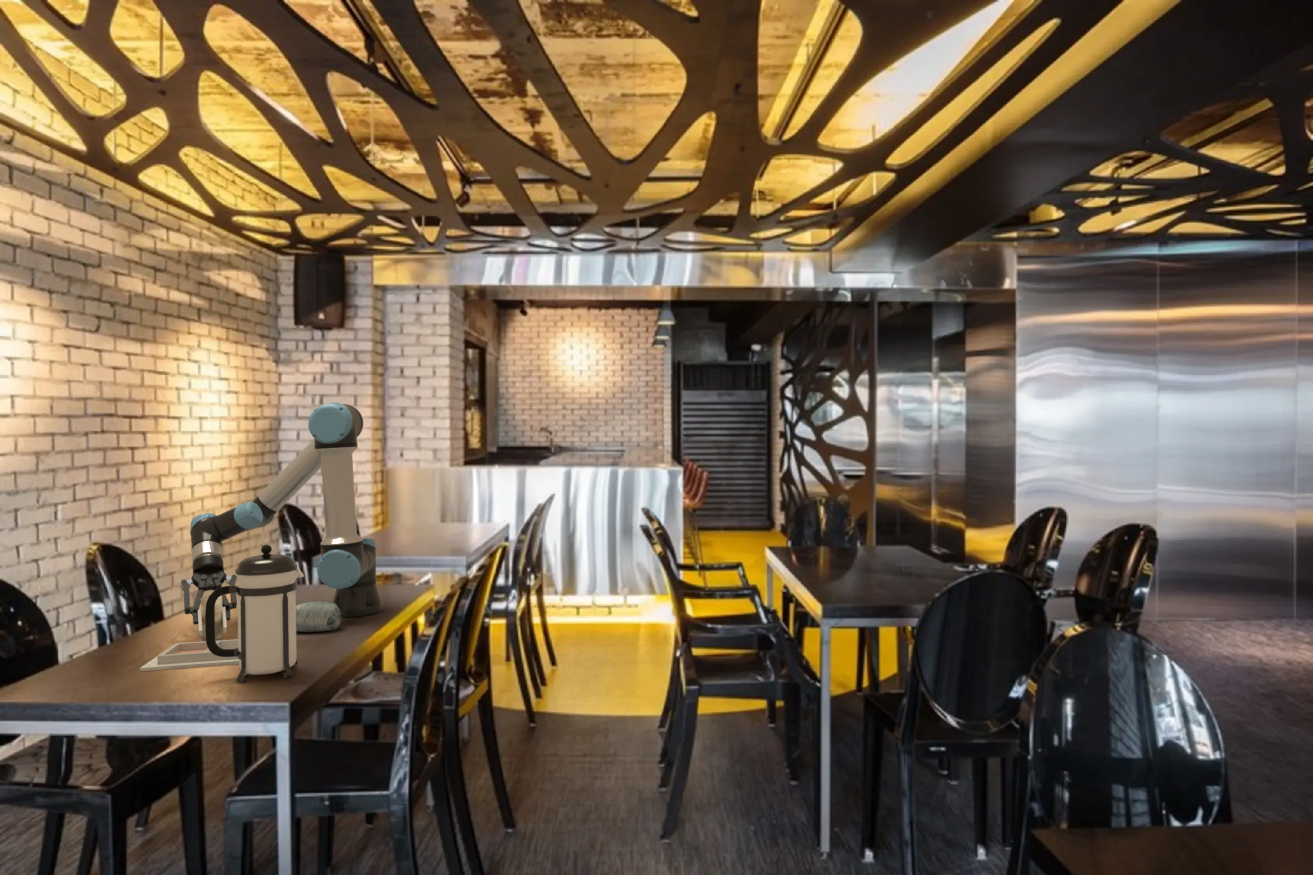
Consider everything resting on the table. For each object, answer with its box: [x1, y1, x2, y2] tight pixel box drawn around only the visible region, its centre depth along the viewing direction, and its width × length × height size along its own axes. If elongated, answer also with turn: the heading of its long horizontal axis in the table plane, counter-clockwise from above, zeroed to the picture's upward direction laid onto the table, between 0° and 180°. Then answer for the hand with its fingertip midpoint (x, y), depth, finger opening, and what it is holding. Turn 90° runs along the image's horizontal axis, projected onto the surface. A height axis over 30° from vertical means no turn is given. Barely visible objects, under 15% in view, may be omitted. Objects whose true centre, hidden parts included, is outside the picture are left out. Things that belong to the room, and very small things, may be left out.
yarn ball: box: [296, 600, 342, 633], centre depth 221 cm, size 14×10×10 cm
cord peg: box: [200, 595, 224, 642], centre depth 210 cm, size 5×5×12 cm
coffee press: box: [205, 544, 304, 684], centre depth 180 cm, size 17×16×30 cm
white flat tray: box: [139, 638, 239, 672], centre depth 195 cm, size 26×16×3 cm, turn 103°
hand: (212, 631), depth 207 cm, fingers closed on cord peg, 5 cm apart
